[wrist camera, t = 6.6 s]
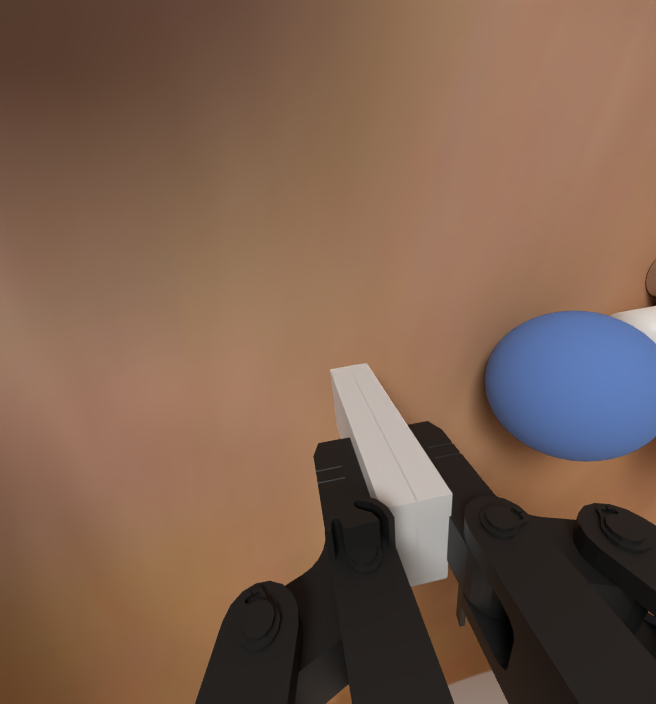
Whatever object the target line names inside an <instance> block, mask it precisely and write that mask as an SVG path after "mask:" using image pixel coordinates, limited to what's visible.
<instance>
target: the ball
mask: <svg viewBox="0 0 656 704" xmlns="http://www.w3.org/2000/svg"><path fill="white" fill-rule="evenodd" d="M485 390H486V395H487V399H488V402H489V405H490V407H491V409H492V411H493V413H494V415H495V416H496V418H497V419H498V420H499V422H500V423H501V424H502V425H503V426H504V428H505V429H506V430H507V431H508V432H510V433H511V434H512V435H513V436H514V437H515V438H517V439H518V440H519V441H521V442H522V443H524V444H525V445H527V446H529V447H531V448H533V449H535V450H537V451H539V452H542V453H544V454H546V455H550V456H553V457H557V458H561V459H566V460H572V461H601V460H608V459H613V458H617V457H620V456H624V455H626V454H629V453H631V452H633V451H636V450H638V449H639V448H641V447H643V446H644V445H646V444H648V443H649V442H650V441H651V440H652V439H654V438H655V437H656V343H655V342H654V341H653V340H651V339H650V338H649V337H648V336H647V335H646V334H644V333H643V332H641V331H640V330H638V329H637V328H635V327H634V326H632V325H630V324H628V323H626V322H624V321H622V320H619V319H616V318H613V317H611V316H608V315H603V314H599V313H594V312H586V311H562V312H555V313H550V314H545V315H542V316H539V317H536V318H533V319H531V320H528V321H526V322H524V323H522V324H521V325H519V326H517V327H516V328H514V329H513V330H511V331H510V332H509V333H508V334H507V335H505V336H504V337H503V339H502V340H501V341H500V342H499V343H498V344H497V346H496V347H495V349H494V350H493V352H492V354H491V356H490V358H489V360H488V363H487V367H486V372H485Z"/></svg>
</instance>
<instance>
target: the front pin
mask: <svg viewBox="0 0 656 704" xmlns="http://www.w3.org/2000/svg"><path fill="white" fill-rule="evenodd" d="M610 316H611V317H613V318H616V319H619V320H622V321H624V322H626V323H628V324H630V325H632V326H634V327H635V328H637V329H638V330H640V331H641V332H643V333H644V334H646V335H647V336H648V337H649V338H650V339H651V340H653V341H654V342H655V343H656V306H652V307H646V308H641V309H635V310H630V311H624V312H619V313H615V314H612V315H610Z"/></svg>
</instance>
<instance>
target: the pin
mask: <svg viewBox="0 0 656 704" xmlns="http://www.w3.org/2000/svg"><path fill="white" fill-rule="evenodd" d="M646 287H647V290H648V292H649V293H650V294H651V295H653V296H656V260H655V262H654V263H653V264H652V266H651V268H650V270H649V272H648V275H647V278H646Z"/></svg>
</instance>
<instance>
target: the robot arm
mask: <svg viewBox="0 0 656 704" xmlns="http://www.w3.org/2000/svg"><path fill="white" fill-rule="evenodd" d="M330 374H331V382H332V390H333V398H334V406H335V414H336V422H337V428H338V431H339V435H340V438H341V439H338V440H333V441H328V442H323V443H318V446H317V448H316V451H315V454H314V462H315V469H316V475H317V481H318V488H319V494H320V501H321V507H322V513H323V520H324V526H325V545H324V549H323V551H322V553H321V555H320V557H319V559H318V560H317V562H316V563H315V564H314V565H313V567H312V568H310V569H309V570H308V571H307V572H305V573H304V574H303V575H301V576H300V577H298V578H297V579H295V580H293V581H292V582H290V583H289V584H287V585H285V586H284V585H283V584H280V583H276V582H272V581H267V582H261V583H256V584H254V585H253V586H251V587H249V588H248V589H246V590H245V591H243V592H242V593H241V594H240V595H239V596H238V597H237V598H236V600H235V601H234V602H233V603H232V604H231V605H230V607H229V609H228V611H227V613H226V615H225V618H224V620H223V622H222V624H221V627H220V630H219V633H218V636H217V639H216V642H215V645H214V648H213V651H212V654H211V657H210V660H209V663H208V666H207V669H206V672H205V675H204V678H203V682H202V685H201V688H200V691H199V694H198V697H197V700H196V703H195V704H326V703H327V702H328V701H329V700H330V699H332V698H333V697H334V696H335V695H336V694H337V693H339V692H340V691H341V690H342V689H343V688H344V687H346V686H347V685H348V684H349V687H350V693H351V699H352V704H454V702H453V699H452V696H451V694H450V691H449V688H448V686H447V683H446V680H445V678H444V675H443V672H442V669H441V667H440V664H439V661H438V659H437V656H436V653H435V651H434V648H433V645H432V643H431V640H430V637H429V635H428V632H427V629H426V627H425V624H424V621H423V619H422V616H421V613H420V610H419V608H418V605H417V602H416V600H415V597H414V594H413V592H412V589H411V587H412V586H417V585H421V584H425V583H429V582H433V581H437V580H441V579H445V578H447V576H448V563H449V565H450V567H451V569H452V571H453V573H454V575H455V577H456V579H457V581H458V583H459V587H458V599H457V612H456V615H457V618H458V622H459V625H460V627H461V626H464V625H465V616H466V617H467V619H468V621H469V623H470V625H471V627H472V629H473V631H474V633H475V635H476V637H477V639H478V642H479V644H480V646H481V648H482V650H483V652H484V654H485V656H486V658H487V660H488V662H489V664H490V666H491V668H492V671H493V673H494V674H495V677H496V679H497V681H498V683H499V685H500V687H501V689H502V691H503V693H504V695H505V698H506V699H507V702H508V703H509V704H656V526H655V525H654V524H652V523H651V522H649V521H647V520H646V519H644V518H642V517H640V516H638V515H636V514H634V513H632V512H631V511H629V510H627V509H624V508H620V507H617V506H614V505H610V504H600V503H593V504H590V505H586V506H584V507H583V508H582V509H581V510H580V512H579V513H578V516H577V519H576V520H570V519H558V518H546V517H538V516H532V515H528V514H527V513H526V512H525V511H524V510H523V509H522V508H520V507H519V506H518V505H516V504H514V503H512V502H510V501H508V500H506V499H503V498H499V497H497V496H496V495H495V494H494V493H493V492H492V491H491V490H490V488H489V487H488V486H487V485H486V483H485V482H484V481H483V480H482V478H481V477H480V476H479V475H478V474H477V472H476V471H475V470H474V469H473V467H472V466H471V465H470V464H469V463H468V461H467V460H466V459H465V458H464V456H463V455H462V454H460V452H459V450H458V449H457V448H456V447H455V445H454V444H452V442H451V440H450V439H449V438H448V437H447V435H446V434H445V433H444V432H443V431H442V430H441V429H440V428H438V427H437V426H435V425H433V424H432V423H430V422H428V421H425V422H420V423H415V424H410V425H407V424H406V422H405V421H404V419H403V418H402V416H401V415H400V413H399V412H398V410H397V409H396V407H395V406H394V404H393V402H392V401H391V399H390V398H389V396H388V395H387V393H386V392H385V390H384V389H383V387H382V386H381V384H380V383H379V381H378V380H377V378H376V377H375V375H374V374H373V372H372V370H371V369H370V367H369V366H368V364H367V363H364V364H358V365H353V366H347V367H341V368H335V369H330ZM648 611H649V612H650V613H652V614H653V615H654V616H653V615H651V614H650V613H648Z"/></svg>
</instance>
